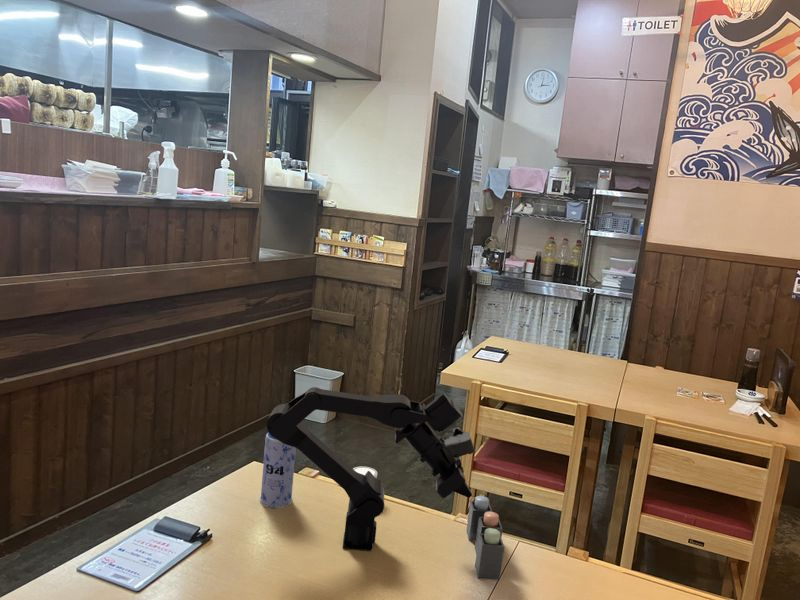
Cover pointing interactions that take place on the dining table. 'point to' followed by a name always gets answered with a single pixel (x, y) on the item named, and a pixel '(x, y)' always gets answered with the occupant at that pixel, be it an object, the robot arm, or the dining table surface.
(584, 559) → the dining table surface
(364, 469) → the shot glass
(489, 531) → the sage button
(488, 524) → the terracotta button
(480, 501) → the slate button
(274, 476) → the aerosol can
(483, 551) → the button stand
